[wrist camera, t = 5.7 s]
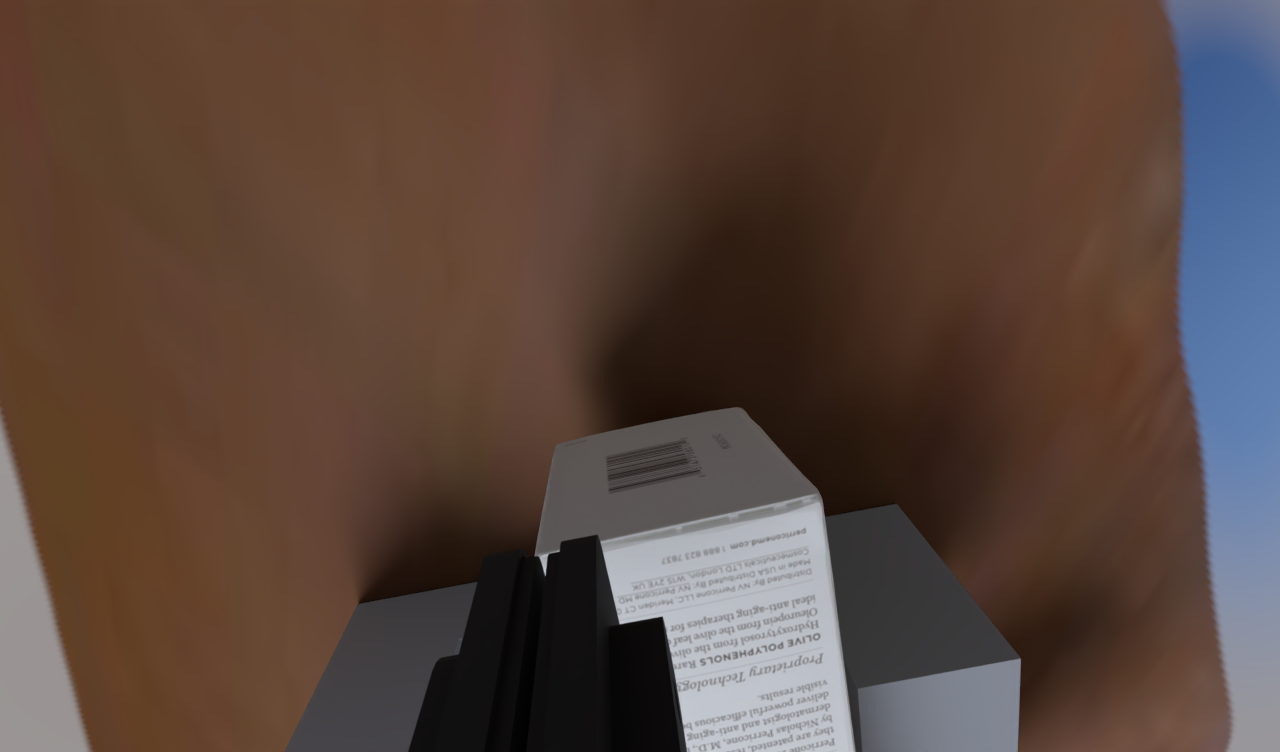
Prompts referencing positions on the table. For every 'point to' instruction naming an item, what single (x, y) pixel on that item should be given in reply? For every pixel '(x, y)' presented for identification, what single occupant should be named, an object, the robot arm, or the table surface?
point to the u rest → (870, 636)
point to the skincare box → (715, 573)
